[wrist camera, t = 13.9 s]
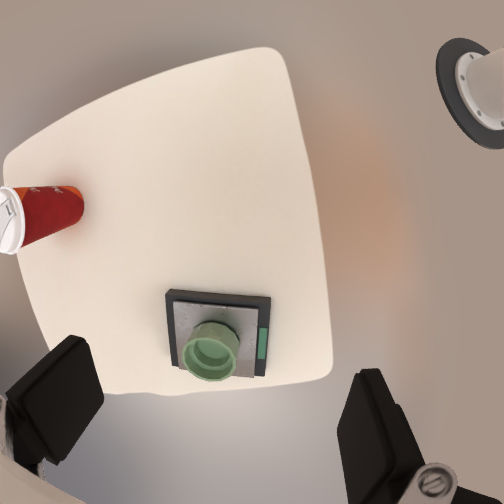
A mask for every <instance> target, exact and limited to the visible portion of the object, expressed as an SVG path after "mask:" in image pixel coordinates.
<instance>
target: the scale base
mask: <svg viewBox="0 0 504 504" xmlns="http://www.w3.org/2000/svg"><path fill="white" fill-rule="evenodd" d="M165 299H166V312H167V324H168V334H169V344H170V353H171V361H172V366H177V367H179V364H178V354H177V344H176V333H175V321H174V308H173V302H174V300H176V301H185V302H194V303H204V304H215V305H226V306H238V307H251V308H258V324H257V341H256V356H255V372H254V376H265V367H266V356H267V344H268V333H269V320H270V308H271V298H270V297H255V296H241V295H229V294H217V293H205V292H194V291H184V290H174V289H170V290H169V291H168V292H167V293H166V294H165Z"/></svg>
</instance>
